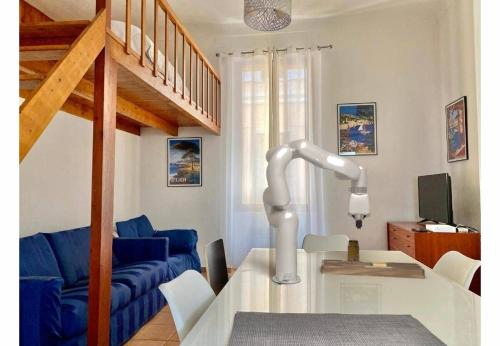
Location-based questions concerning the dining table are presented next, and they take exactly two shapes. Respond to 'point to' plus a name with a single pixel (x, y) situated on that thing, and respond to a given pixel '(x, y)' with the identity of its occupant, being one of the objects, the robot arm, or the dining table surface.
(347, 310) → the dining table surface
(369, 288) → the dining table surface
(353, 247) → the condiment
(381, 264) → the block
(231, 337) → the dining table surface
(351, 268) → the box
